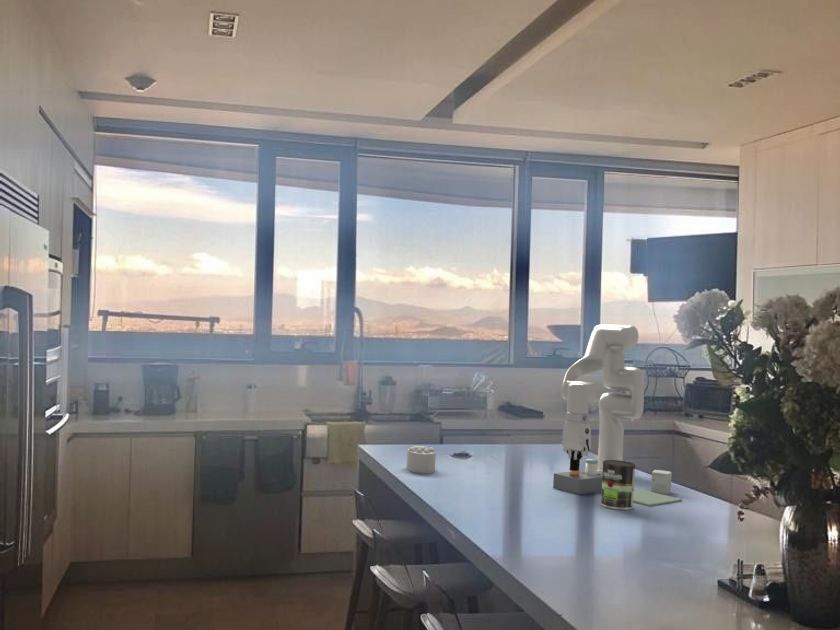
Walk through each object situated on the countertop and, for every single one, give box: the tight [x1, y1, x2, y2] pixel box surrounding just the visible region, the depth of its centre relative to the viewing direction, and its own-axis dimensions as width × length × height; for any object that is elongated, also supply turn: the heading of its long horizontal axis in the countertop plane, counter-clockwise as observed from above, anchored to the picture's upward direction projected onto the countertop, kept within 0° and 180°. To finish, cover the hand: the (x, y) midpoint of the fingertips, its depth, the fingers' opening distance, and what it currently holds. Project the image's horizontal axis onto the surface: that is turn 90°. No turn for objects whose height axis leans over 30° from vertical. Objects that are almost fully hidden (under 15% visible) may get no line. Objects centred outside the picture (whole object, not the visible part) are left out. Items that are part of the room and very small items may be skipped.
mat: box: [633, 488, 683, 507], centre depth 282 cm, size 18×18×1 cm
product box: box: [650, 469, 673, 495], centre depth 295 cm, size 6×6×7 cm
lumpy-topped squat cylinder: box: [406, 445, 437, 474], centre depth 313 cm, size 10×13×9 cm
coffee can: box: [600, 460, 636, 511], centre depth 267 cm, size 10×10×14 cm
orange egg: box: [568, 469, 581, 477], centre depth 290 cm, size 4×4×6 cm
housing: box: [552, 469, 603, 495], centre depth 293 cm, size 18×12×5 cm, turn 127°
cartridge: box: [584, 458, 598, 476], centre depth 296 cm, size 4×4×10 cm
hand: (574, 470), depth 290 cm, fingers closed
